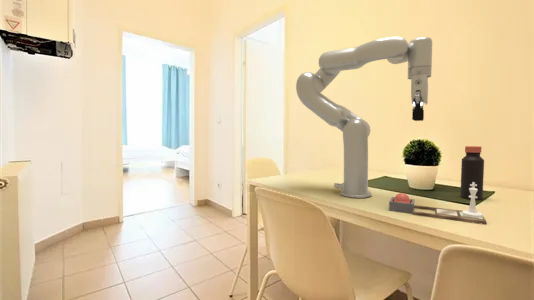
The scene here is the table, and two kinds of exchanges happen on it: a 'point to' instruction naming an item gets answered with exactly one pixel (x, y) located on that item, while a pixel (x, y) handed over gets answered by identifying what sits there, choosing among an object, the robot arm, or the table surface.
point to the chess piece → (472, 204)
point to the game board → (448, 214)
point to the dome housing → (401, 206)
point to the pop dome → (402, 198)
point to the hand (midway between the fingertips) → (418, 120)
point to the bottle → (472, 172)
